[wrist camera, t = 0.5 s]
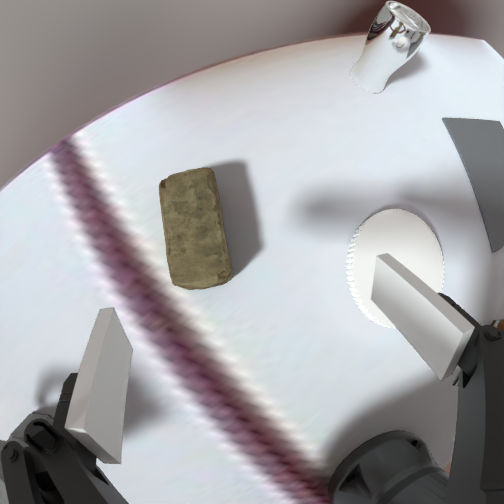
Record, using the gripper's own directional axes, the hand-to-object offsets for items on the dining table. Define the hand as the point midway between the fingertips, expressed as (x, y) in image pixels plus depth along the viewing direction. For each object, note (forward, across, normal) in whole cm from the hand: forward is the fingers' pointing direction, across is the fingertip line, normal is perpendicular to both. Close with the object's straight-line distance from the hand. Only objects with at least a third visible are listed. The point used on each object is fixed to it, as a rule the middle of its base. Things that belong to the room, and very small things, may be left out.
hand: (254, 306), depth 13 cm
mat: (+19, -52, 0) cm, 56 cm away
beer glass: (+29, -26, -14) cm, 41 cm away
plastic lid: (+14, -19, +10) cm, 26 cm away
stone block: (+18, +3, +3) cm, 19 cm away
